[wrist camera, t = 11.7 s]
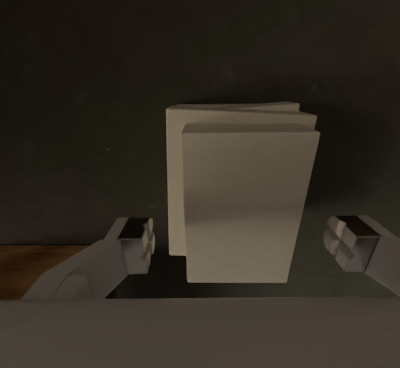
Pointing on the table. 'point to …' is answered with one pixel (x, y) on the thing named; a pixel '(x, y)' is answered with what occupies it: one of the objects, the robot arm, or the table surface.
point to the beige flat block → (244, 199)
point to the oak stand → (29, 265)
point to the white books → (213, 115)
